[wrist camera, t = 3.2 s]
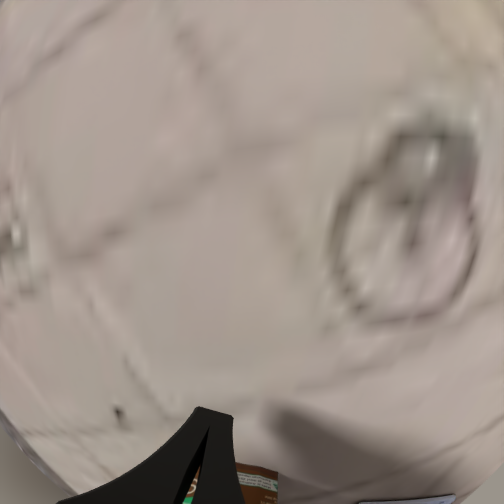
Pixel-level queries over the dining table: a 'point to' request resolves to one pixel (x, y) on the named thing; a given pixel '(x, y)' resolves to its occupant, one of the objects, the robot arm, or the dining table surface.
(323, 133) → the dining table surface
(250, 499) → the food container
